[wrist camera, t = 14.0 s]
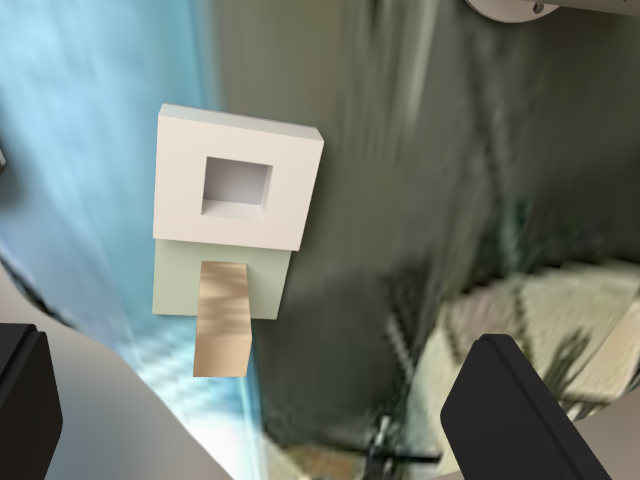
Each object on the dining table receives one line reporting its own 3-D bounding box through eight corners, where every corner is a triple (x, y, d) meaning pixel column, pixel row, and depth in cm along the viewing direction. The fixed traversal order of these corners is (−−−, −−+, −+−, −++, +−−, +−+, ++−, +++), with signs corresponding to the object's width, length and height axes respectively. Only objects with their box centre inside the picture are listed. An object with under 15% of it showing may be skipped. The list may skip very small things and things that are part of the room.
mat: (291, 239, 42) (292, 245, 42) (275, 313, 47) (276, 319, 46) (157, 227, 39) (156, 232, 38) (153, 307, 44) (152, 313, 43)
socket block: (316, 127, 37) (324, 141, 34) (293, 230, 42) (298, 251, 39) (163, 101, 34) (158, 115, 31) (158, 217, 39) (153, 238, 36)
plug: (245, 263, 42) (251, 339, 33) (240, 297, 44) (245, 376, 35) (201, 260, 41) (196, 338, 32) (198, 295, 43) (192, 376, 34)
